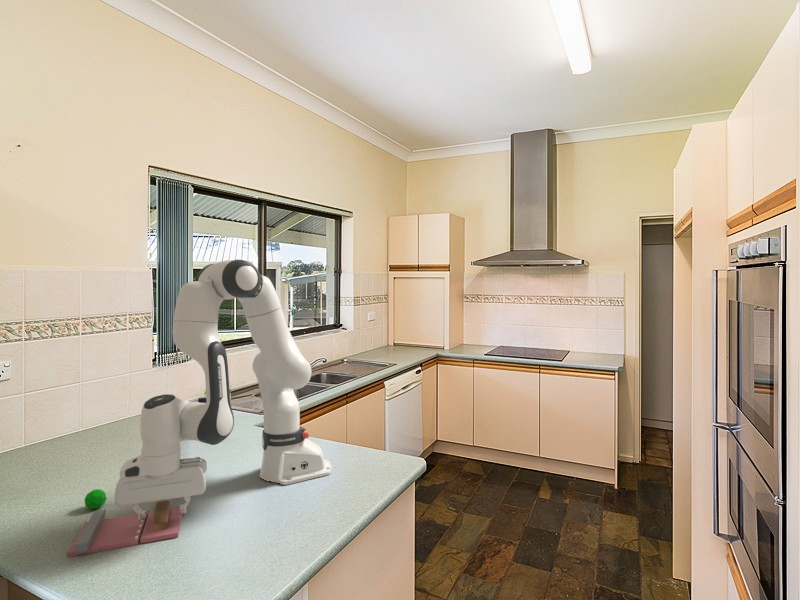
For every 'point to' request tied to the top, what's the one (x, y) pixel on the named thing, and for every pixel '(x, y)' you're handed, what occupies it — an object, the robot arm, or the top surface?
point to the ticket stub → (162, 522)
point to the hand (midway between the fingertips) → (163, 516)
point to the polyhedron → (95, 499)
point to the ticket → (107, 533)
